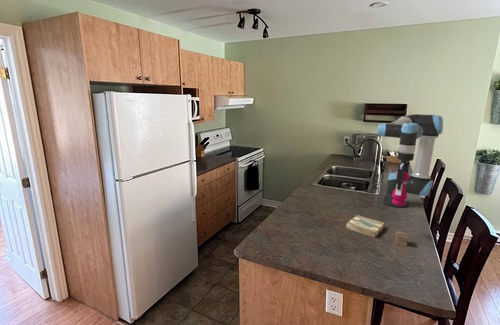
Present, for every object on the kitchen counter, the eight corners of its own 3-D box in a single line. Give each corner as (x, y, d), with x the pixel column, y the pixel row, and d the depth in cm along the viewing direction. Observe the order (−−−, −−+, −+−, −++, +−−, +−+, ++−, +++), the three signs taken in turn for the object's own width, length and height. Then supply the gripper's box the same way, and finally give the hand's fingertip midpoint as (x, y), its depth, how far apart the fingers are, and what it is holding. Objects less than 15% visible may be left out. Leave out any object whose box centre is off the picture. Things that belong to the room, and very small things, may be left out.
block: (394, 239, 146) (396, 231, 144) (405, 241, 144) (406, 233, 143) (395, 244, 141) (397, 235, 140) (406, 246, 139) (407, 237, 138)
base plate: (356, 219, 169) (357, 214, 169) (383, 227, 159) (384, 223, 158) (346, 227, 158) (346, 223, 157) (374, 237, 147) (375, 232, 147)
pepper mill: (398, 206, 145) (403, 171, 140) (388, 201, 152) (393, 167, 147) (408, 205, 147) (414, 170, 142) (398, 200, 154) (403, 166, 149)
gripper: (403, 148, 152) (397, 187, 158) (393, 154, 138) (387, 196, 144) (418, 150, 147) (411, 190, 153) (409, 156, 133) (402, 199, 139)
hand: (399, 193), depth 148 cm, fingers closed on pepper mill, 6 cm apart
